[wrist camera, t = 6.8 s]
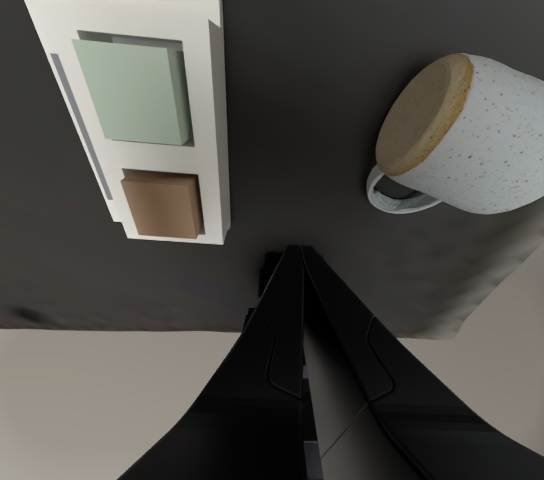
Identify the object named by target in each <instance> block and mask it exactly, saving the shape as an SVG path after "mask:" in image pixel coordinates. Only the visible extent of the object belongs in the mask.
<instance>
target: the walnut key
mask: <svg viewBox="0 0 544 480" xmlns="http://www.w3.org/2000/svg"><path fill="white" fill-rule="evenodd" d="M120 182H121V185H122V188H123V190H124V193H125V196H126V199H127V202H128V205H129V208H130V211H131V214H132V217H133V220H134V223H135V226H136V229H137V231H138V234H139V235H144V236H158V237H172V238H187V239H197V237H198V234H199V232H200V230H201V228H202V226H203V224H204V218H203V210H202V201H201V193H200V185H199V176H198V174H187V173H175V172H162V171H150V170H138V169H136V170H135V171H133V172H132V173H130V174H129V175H128V176H126V177H125V178H124V179H122V180H121V181H120Z"/></svg>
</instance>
